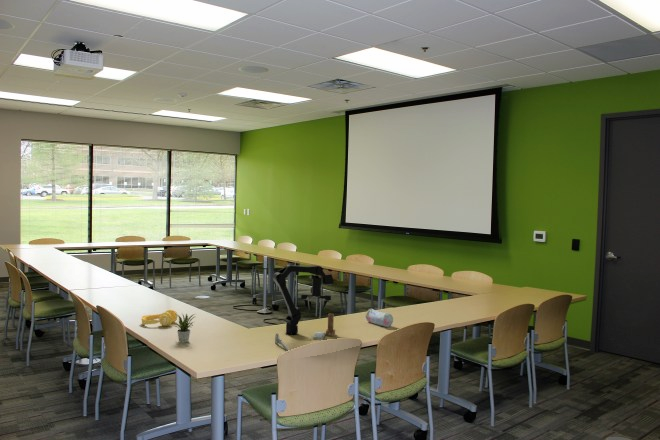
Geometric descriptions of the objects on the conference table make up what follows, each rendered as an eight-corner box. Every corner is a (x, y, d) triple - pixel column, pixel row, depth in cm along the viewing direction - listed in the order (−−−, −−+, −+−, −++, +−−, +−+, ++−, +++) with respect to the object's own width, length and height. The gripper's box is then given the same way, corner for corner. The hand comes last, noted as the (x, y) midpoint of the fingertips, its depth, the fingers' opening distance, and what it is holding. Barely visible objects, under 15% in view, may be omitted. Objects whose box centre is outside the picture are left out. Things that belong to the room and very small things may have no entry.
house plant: (203, 339, 298) (203, 310, 298) (191, 345, 285) (192, 315, 284) (180, 337, 302) (181, 309, 301) (168, 343, 288) (168, 314, 288)
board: (313, 338, 304) (313, 336, 304) (315, 333, 317) (315, 331, 317) (323, 339, 304) (323, 337, 304) (325, 333, 317) (325, 331, 316)
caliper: (274, 344, 292) (274, 333, 292) (276, 343, 293) (276, 332, 293) (289, 353, 274) (289, 341, 274) (291, 353, 275) (291, 341, 275)
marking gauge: (325, 336, 311) (326, 314, 310) (326, 334, 317) (327, 312, 316) (333, 336, 310) (334, 315, 310) (335, 334, 316) (335, 313, 315)
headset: (147, 320, 343) (148, 306, 342) (179, 322, 342) (179, 308, 341) (136, 326, 325) (137, 312, 324) (169, 328, 324) (170, 314, 323)
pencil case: (364, 322, 352) (365, 308, 352) (375, 320, 356) (375, 307, 356) (383, 328, 334) (383, 314, 334) (394, 327, 339) (394, 312, 338)
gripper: (332, 284, 329) (332, 308, 329) (303, 283, 330) (303, 307, 331) (331, 286, 318) (330, 312, 318) (301, 285, 319) (300, 311, 320)
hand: (316, 310), depth 322 cm, fingers open, 9 cm apart
